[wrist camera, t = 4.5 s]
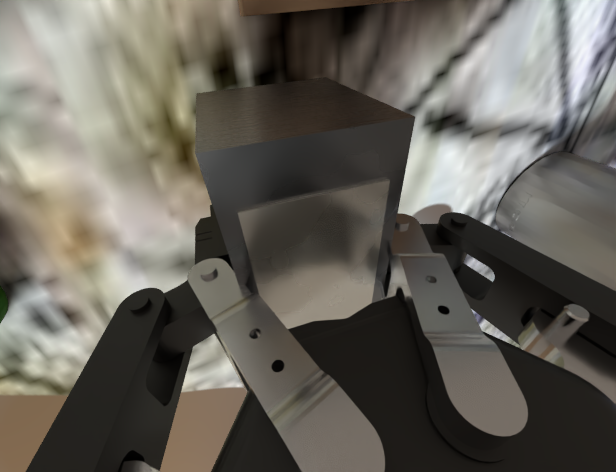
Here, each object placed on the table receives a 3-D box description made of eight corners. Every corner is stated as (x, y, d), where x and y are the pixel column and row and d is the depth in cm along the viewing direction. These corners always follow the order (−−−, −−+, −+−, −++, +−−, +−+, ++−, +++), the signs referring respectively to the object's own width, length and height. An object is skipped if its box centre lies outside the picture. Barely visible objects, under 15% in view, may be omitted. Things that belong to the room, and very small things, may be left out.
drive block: (325, 77, 11) (418, 118, 6) (327, 257, 17) (374, 343, 13) (196, 93, 10) (195, 155, 5) (249, 278, 16) (269, 379, 12)
